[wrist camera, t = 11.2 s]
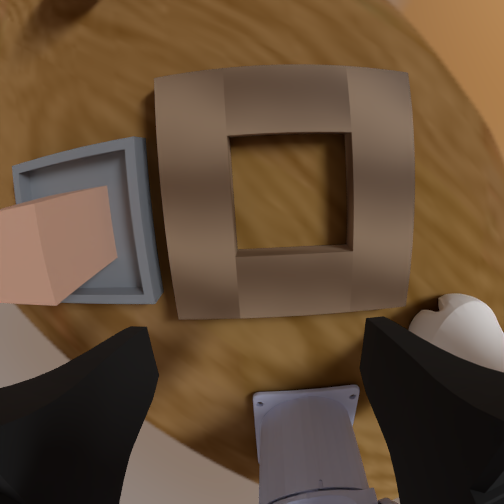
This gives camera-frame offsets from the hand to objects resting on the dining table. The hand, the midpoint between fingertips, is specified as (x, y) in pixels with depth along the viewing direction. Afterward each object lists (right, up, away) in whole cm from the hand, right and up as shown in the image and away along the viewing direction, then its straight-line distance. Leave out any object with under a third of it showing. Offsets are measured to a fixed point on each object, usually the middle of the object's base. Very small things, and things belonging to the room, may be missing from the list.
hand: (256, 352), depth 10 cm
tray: (-11, +5, +9) cm, 15 cm away
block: (-11, +5, +8) cm, 14 cm away
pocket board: (+2, +7, +8) cm, 10 cm away
